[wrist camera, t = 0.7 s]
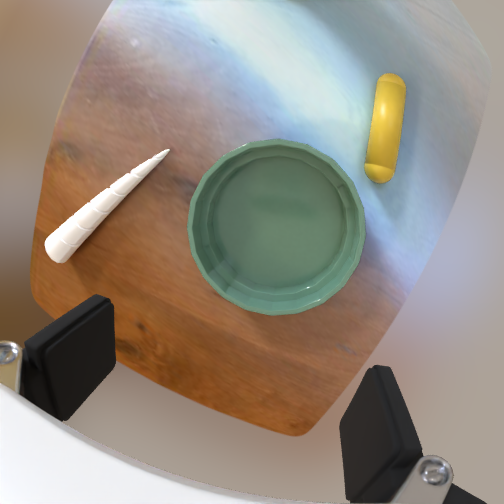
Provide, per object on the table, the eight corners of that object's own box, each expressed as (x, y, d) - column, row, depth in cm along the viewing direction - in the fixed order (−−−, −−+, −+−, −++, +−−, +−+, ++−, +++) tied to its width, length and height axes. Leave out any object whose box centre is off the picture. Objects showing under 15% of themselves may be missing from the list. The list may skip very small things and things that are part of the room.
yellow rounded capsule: (374, 74, 28) (382, 65, 25) (401, 83, 28) (411, 75, 25) (358, 179, 32) (365, 179, 29) (386, 186, 32) (396, 187, 28)
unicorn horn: (185, 174, 35) (169, 174, 30) (71, 260, 40) (51, 268, 36) (168, 143, 34) (150, 139, 29) (58, 234, 40) (38, 240, 35)
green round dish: (216, 134, 33) (203, 127, 28) (368, 165, 31) (382, 163, 26) (194, 278, 38) (179, 293, 33) (333, 308, 36) (338, 329, 31)
